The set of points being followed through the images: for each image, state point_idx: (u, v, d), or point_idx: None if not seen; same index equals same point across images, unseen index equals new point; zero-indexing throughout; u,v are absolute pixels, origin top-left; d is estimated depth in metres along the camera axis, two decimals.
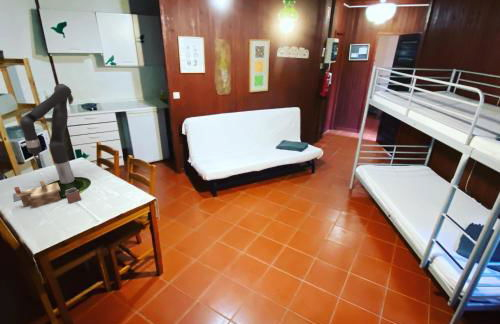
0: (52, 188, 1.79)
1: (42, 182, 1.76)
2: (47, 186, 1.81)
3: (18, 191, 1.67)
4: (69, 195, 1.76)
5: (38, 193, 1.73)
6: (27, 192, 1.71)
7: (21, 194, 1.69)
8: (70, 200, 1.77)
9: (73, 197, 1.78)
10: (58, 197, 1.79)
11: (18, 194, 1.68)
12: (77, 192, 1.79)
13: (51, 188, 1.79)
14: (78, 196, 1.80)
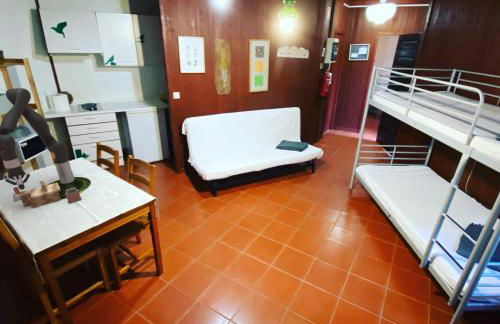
0: (52, 188, 1.79)
1: (42, 182, 1.76)
2: (47, 186, 1.81)
3: (17, 191, 1.67)
4: (69, 195, 1.76)
5: (38, 193, 1.73)
6: (26, 192, 1.71)
7: (20, 194, 1.69)
8: (70, 200, 1.77)
9: (73, 197, 1.78)
10: (58, 197, 1.79)
11: (17, 194, 1.68)
12: (77, 192, 1.79)
13: (51, 188, 1.79)
14: (78, 196, 1.80)
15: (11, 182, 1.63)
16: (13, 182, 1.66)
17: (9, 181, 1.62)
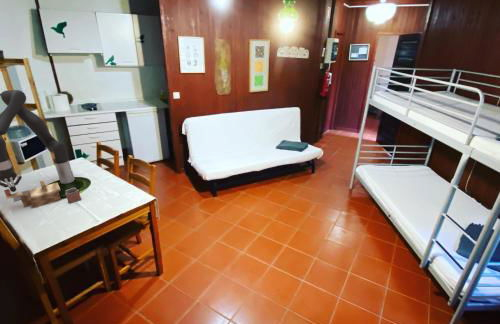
0: (52, 188, 1.79)
1: (42, 182, 1.76)
2: (47, 186, 1.81)
3: (8, 193, 1.65)
4: (69, 195, 1.76)
5: (38, 193, 1.73)
6: (18, 194, 1.68)
7: (11, 197, 1.66)
8: (70, 200, 1.77)
9: (73, 197, 1.78)
10: (58, 197, 1.79)
11: (8, 197, 1.65)
12: (77, 192, 1.79)
13: (51, 188, 1.79)
14: (78, 196, 1.80)
15: (2, 184, 1.61)
16: (4, 184, 1.63)
17: (0, 183, 1.60)
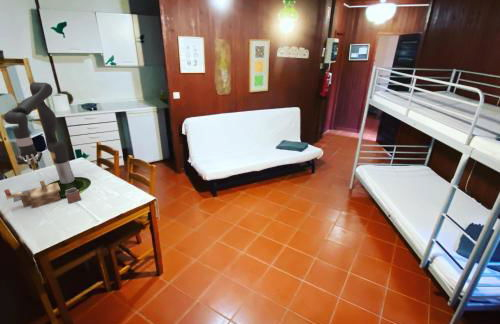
0: (52, 188, 1.79)
1: (42, 182, 1.76)
2: (47, 186, 1.81)
3: (8, 193, 1.65)
4: (69, 195, 1.76)
5: (38, 193, 1.73)
6: (18, 194, 1.68)
7: (11, 197, 1.66)
8: (70, 200, 1.77)
9: (73, 197, 1.78)
10: (58, 197, 1.79)
11: (8, 197, 1.65)
12: (77, 192, 1.79)
13: (51, 188, 1.79)
14: (78, 196, 1.80)
15: (22, 161, 1.63)
16: None
17: (20, 159, 1.63)
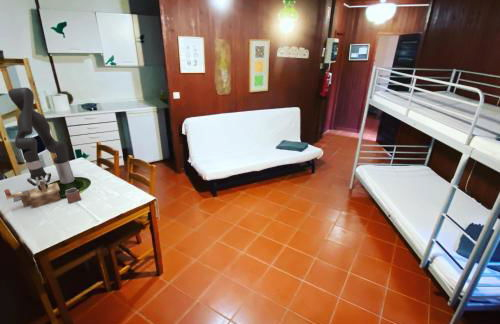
0: (52, 188, 1.79)
1: (41, 182, 1.76)
2: None
3: (8, 193, 1.65)
4: (69, 195, 1.76)
5: (37, 193, 1.73)
6: (18, 194, 1.68)
7: (11, 197, 1.66)
8: (70, 200, 1.77)
9: (73, 197, 1.78)
10: (58, 197, 1.79)
11: (8, 197, 1.65)
12: (77, 192, 1.79)
13: (51, 188, 1.79)
14: (78, 196, 1.80)
15: (32, 182, 1.71)
16: None
17: (30, 181, 1.70)
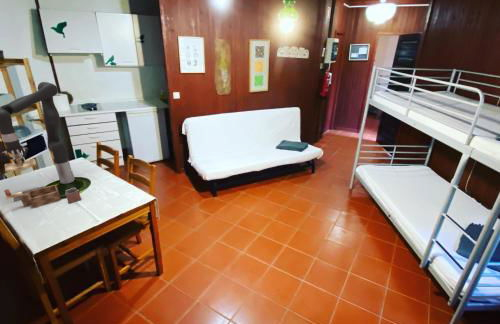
0: (28, 163, 1.77)
1: (17, 156, 1.74)
2: None
3: (8, 193, 1.65)
4: (69, 195, 1.76)
5: (13, 167, 1.71)
6: (18, 194, 1.68)
7: (11, 197, 1.66)
8: (70, 200, 1.77)
9: (73, 197, 1.78)
10: (58, 197, 1.79)
11: (8, 197, 1.65)
12: (77, 192, 1.79)
13: (27, 163, 1.77)
14: (78, 196, 1.80)
15: (7, 156, 1.69)
16: None
17: (6, 155, 1.68)
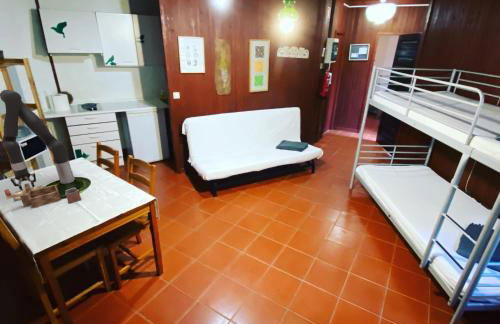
0: None
1: (26, 185, 1.85)
2: (32, 188, 1.90)
3: (8, 193, 1.65)
4: (69, 195, 1.76)
5: None
6: (18, 194, 1.68)
7: (11, 197, 1.66)
8: (70, 200, 1.77)
9: (73, 197, 1.78)
10: (58, 197, 1.79)
11: (8, 197, 1.65)
12: (77, 192, 1.79)
13: None
14: (78, 196, 1.80)
15: (14, 183, 1.78)
16: None
17: (13, 181, 1.77)
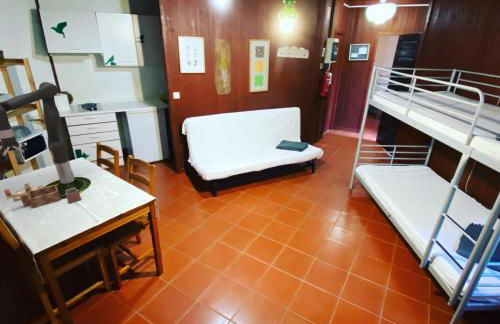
0: None
1: (26, 185, 1.85)
2: (32, 188, 1.90)
3: (8, 193, 1.65)
4: (69, 195, 1.76)
5: None
6: (18, 194, 1.68)
7: (11, 197, 1.66)
8: (70, 200, 1.77)
9: (73, 197, 1.78)
10: (58, 197, 1.79)
11: (8, 197, 1.65)
12: (77, 192, 1.79)
13: None
14: (78, 196, 1.80)
15: None
16: None
17: None
